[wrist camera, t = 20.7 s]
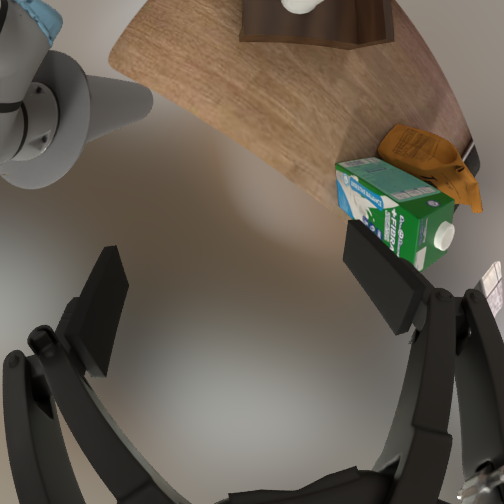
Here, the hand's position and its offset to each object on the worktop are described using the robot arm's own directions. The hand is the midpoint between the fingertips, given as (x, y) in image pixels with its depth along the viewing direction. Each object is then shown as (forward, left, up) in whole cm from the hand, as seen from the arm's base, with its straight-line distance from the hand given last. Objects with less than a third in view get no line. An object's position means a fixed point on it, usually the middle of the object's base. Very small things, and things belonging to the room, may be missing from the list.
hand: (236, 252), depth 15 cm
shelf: (+14, +25, -35) cm, 45 cm away
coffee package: (+37, -2, -35) cm, 51 cm away
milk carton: (+27, -8, -35) cm, 45 cm away
